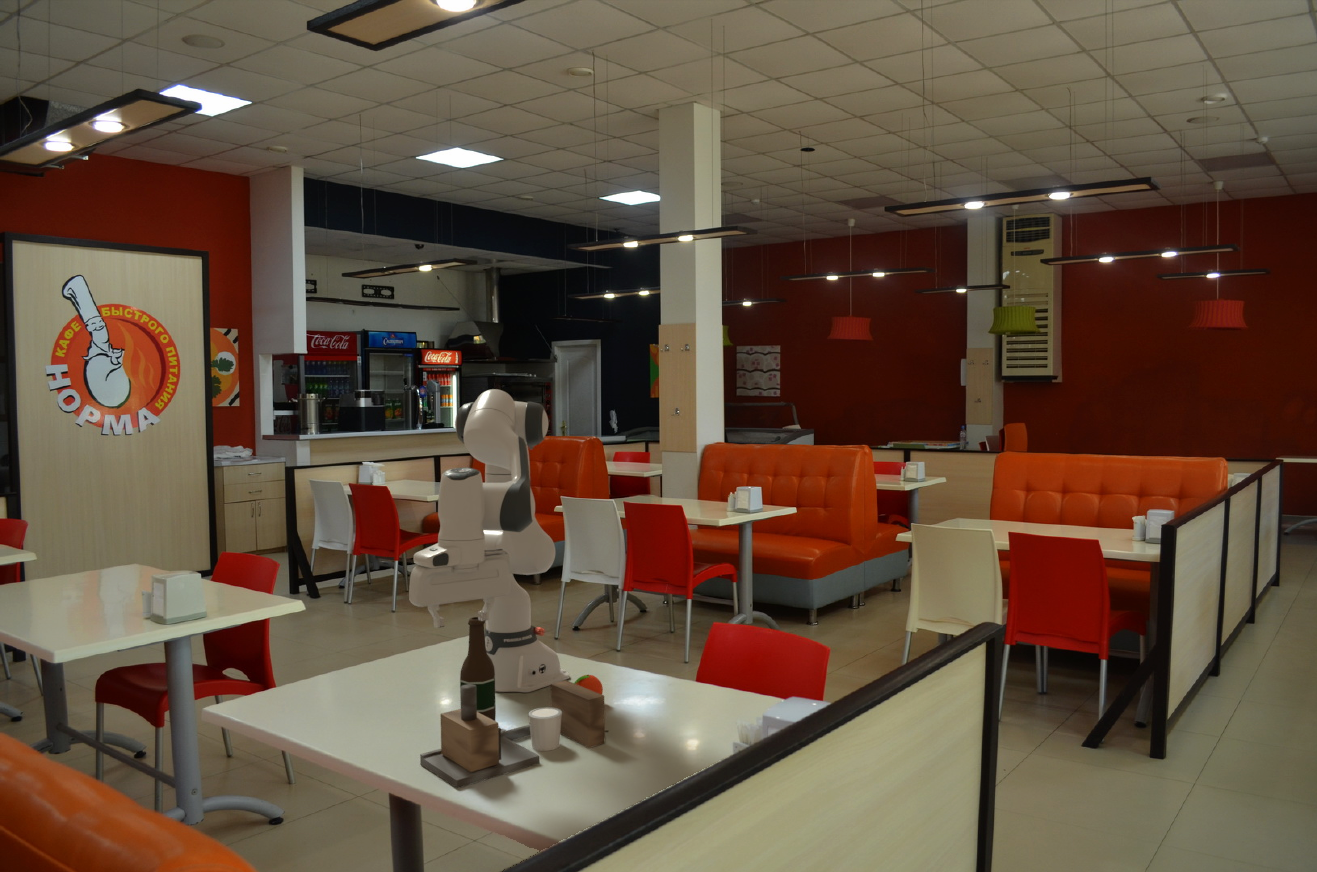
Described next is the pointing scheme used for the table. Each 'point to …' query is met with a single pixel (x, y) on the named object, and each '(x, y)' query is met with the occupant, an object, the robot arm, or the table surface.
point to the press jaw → (470, 734)
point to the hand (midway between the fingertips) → (461, 623)
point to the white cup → (545, 728)
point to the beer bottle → (479, 670)
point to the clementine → (590, 683)
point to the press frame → (577, 723)
